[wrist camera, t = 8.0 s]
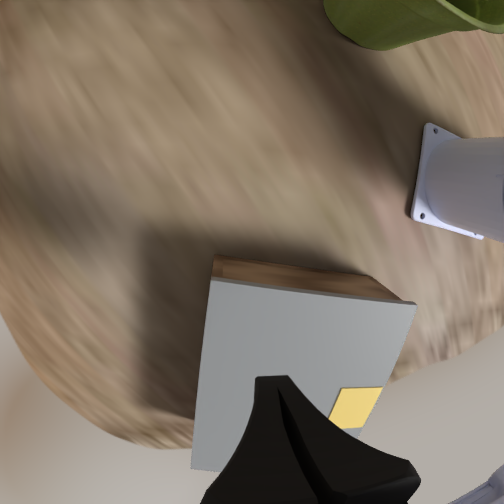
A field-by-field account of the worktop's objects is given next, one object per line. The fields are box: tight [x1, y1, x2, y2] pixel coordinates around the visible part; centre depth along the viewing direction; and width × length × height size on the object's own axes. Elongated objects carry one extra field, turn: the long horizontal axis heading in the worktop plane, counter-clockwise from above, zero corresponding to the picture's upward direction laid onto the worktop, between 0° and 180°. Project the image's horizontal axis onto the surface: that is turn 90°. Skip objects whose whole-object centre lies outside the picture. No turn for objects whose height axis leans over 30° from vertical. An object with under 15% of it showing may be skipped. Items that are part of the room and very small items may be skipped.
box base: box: [193, 255, 403, 433], centre depth 21 cm, size 12×16×5 cm
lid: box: [191, 277, 418, 472], centre depth 18 cm, size 12×16×1 cm
